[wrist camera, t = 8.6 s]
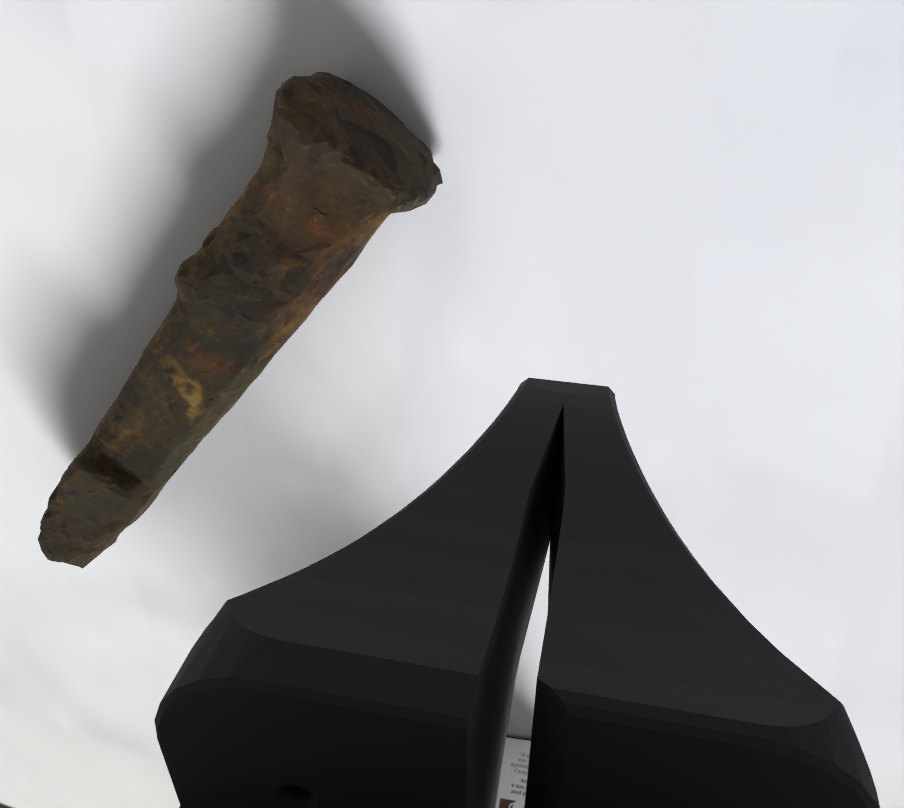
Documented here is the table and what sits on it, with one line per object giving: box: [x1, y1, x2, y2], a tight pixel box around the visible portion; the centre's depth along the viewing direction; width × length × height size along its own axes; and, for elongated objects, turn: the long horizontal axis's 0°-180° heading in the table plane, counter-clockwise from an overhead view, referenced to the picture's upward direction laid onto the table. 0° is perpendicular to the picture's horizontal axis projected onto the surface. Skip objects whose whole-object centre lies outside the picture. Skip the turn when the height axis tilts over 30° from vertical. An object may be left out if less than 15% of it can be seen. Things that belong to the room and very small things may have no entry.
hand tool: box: [38, 72, 443, 568], centre depth 23 cm, size 19×4×5 cm, turn 140°
